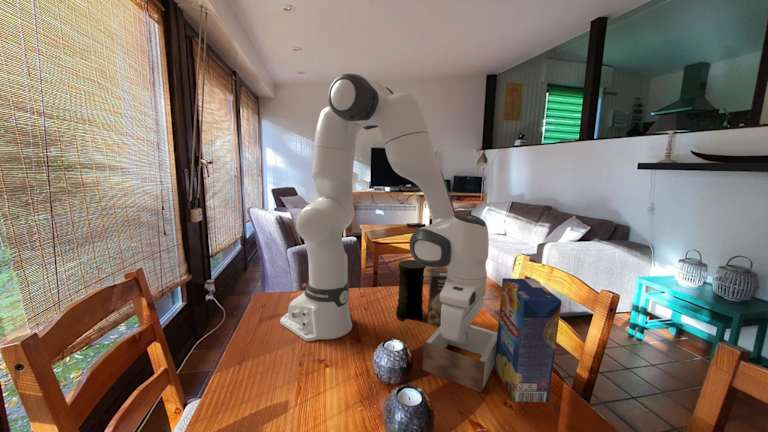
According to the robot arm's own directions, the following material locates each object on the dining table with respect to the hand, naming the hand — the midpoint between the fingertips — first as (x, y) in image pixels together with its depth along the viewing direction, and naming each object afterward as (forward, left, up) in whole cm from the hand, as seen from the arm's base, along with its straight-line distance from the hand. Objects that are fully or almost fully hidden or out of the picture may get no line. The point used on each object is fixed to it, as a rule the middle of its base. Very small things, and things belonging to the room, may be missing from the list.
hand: (463, 340), depth 79 cm
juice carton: (+13, +2, -9) cm, 16 cm away
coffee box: (-14, +21, -9) cm, 27 cm away
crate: (-1, +2, -9) cm, 9 cm away
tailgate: (-1, -5, -7) cm, 9 cm away
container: (-24, +18, -9) cm, 31 cm away
